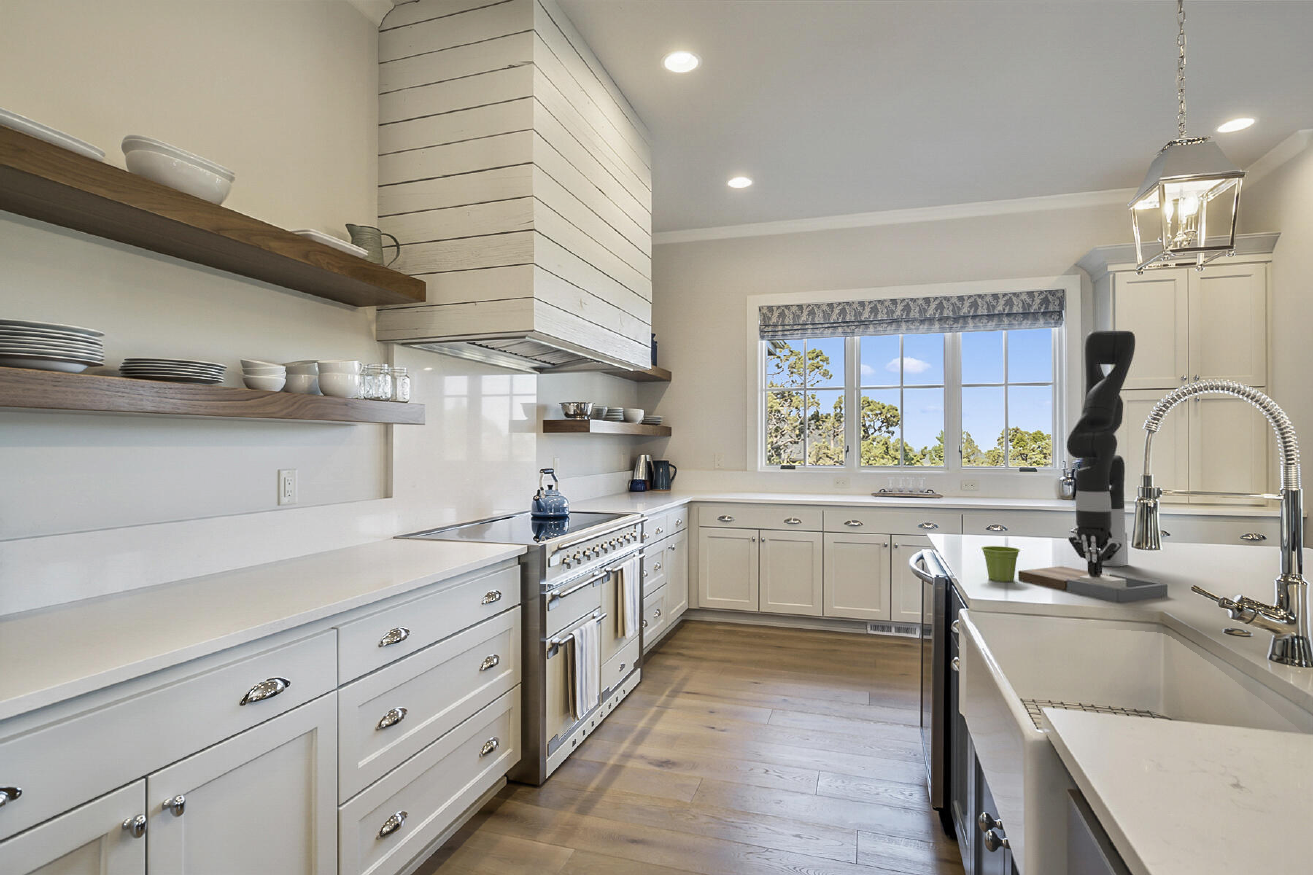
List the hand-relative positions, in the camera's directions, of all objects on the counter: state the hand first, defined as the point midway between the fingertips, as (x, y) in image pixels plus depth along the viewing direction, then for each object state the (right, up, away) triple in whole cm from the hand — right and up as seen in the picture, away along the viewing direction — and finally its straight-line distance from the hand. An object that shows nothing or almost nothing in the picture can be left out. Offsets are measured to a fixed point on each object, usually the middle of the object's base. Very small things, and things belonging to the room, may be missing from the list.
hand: (1095, 576), depth 165 cm
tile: (+1, -3, -2) cm, 3 cm away
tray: (+2, -3, -5) cm, 6 cm away
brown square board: (-3, -4, +8) cm, 9 cm away
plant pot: (-17, -4, +13) cm, 22 cm away
